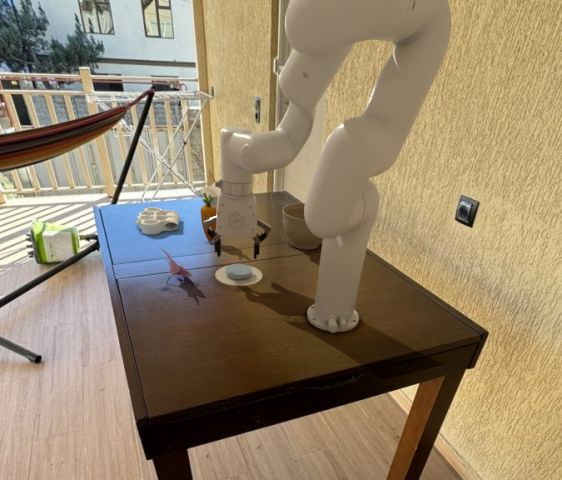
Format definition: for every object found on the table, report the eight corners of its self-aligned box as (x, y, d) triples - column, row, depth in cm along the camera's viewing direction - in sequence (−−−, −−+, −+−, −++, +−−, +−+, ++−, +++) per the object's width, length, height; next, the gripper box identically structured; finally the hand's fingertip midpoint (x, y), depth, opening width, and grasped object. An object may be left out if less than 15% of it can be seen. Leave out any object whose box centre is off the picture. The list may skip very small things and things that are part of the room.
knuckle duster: (178, 234, 131) (132, 235, 129) (179, 216, 145) (138, 216, 142) (177, 224, 129) (130, 224, 126) (178, 207, 142) (136, 207, 140)
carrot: (219, 244, 127) (217, 195, 117) (204, 246, 125) (201, 196, 115) (216, 238, 130) (213, 190, 120) (201, 240, 128) (197, 191, 119)
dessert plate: (261, 290, 104) (261, 286, 103) (212, 288, 104) (212, 284, 103) (262, 269, 114) (263, 265, 113) (218, 267, 114) (217, 263, 113)
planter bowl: (275, 250, 126) (277, 215, 119) (286, 233, 138) (289, 200, 131) (324, 257, 123) (329, 222, 116) (332, 239, 135) (336, 207, 128)
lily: (194, 301, 100) (205, 265, 97) (147, 286, 95) (158, 247, 93) (190, 293, 110) (200, 260, 108) (147, 279, 106) (157, 244, 103)
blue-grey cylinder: (251, 281, 105) (251, 275, 104) (224, 279, 105) (224, 274, 104) (252, 269, 111) (252, 264, 110) (227, 268, 111) (226, 263, 110)
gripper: (198, 189, 90) (202, 259, 102) (273, 195, 91) (269, 264, 103) (203, 180, 96) (206, 248, 107) (273, 185, 97) (269, 252, 108)
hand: (237, 255), depth 105 cm, fingers open, 9 cm apart
